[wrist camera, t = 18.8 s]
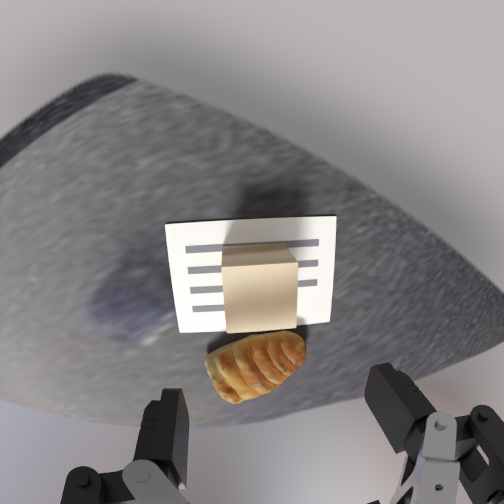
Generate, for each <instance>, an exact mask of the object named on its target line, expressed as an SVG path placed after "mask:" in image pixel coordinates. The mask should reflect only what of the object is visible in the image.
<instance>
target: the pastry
mask: <svg viewBox="0 0 504 504" xmlns="http://www.w3.org/2000/svg"><path fill="white" fill-rule="evenodd" d="M305 356H306V345H305V342H304V340H303V338H302V337H301V336H299V335H297V334H295V333H293V332H291V331H278V332H274V333H265V334H251V335H248V336H247V337H246V338H244V339H240V340H238V341H235V342H232V343H229V344H226V345H224V346H222V347H220V348H218V349H216V350H215V351H213V352H211V353H209V354H208V355H206V357H205V366H206V369H207V372H208V374H209V375H210V377H211V380H212V383H213V385H214V387H215V388H216V390H217V391H218V393H219V394H220V395H221V396H222V398H223V399H225V400H227V401H229V402H230V403H233V404H237V403H241V402H242V401H244V400H247V399H252V398H256V397H259V396H260V395H262V394H266V393H269V392H271V391H272V390H273V389H274V388H276V387H277V386H278V385H280V384H281V383H282V382H283V381H284V380H285V379H287V378H288V377H289V376H290V375H291V374H292V373H293V372H294V371H295V370H297V369H298V367H299V366H300V365H301V364H302V363H303V362H304V360H305Z"/></svg>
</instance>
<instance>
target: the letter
mask: <svg viewBox="0 0 504 504" xmlns="http://www.w3.org/2000/svg"><path fill="white" fill-rule="evenodd" d="M165 229H166V239H167V248H168V256H169V264H170V272H171V280H172V287H173V294H174V300H175V307H176V313H177V319H178V325H179V331H180V333H183V332H212V331H226V320H225V308H224V296H223V284H222V271H221V262H222V246H235V245H253V244H271V243H285V245H286V246H287V248H288V249H289V250H290V252H291V253H292V254H293V256H294V257H295V259H296V260H297V261H298V295H297V323H296V325H305V324H314V323H323V322H330V312H331V301H332V289H333V275H334V259H335V238H336V216H318V217H287V218H263V219H241V220H222V221H205V222H190V223H175V224H165Z"/></svg>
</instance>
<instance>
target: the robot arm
mask: <svg viewBox="0 0 504 504" xmlns="http://www.w3.org/2000/svg"><path fill="white" fill-rule="evenodd" d="M365 400H366V403H367V404H368V406H369V408H370V410H371V411H372V413H373V415H374V416H375V418H376V420H377V421H378V423H379V425H380V427H381V428H382V430H383V432H384V434H385V435H386V437H387V439H388V440H389V442H390V444H391V446H392V447H393V449H394V451H395V453H396V454H397V453H400V452H402V451H406V452H407V455H406V458H405V461H404V465H403V469H402V472H401V476H400V479H399V483H398V486H397V489H396V492H395V494H394V496H393V497H392V499H391V501H390V503H389V504H455V501H456V495H457V488H458V481H459V480H460V482H461V483H462V485H463V487H464V489H465V491H466V492H467V494H468V496H469V498H470V500H471V501H472V503H473V504H504V422H503V421H502V420H501V419H500V417H499V416H498V415H497V414H496V412H495V411H494V410H493V409H492V408H491V407H489V406H486V405H478V406H476V407H474V408H473V409H472V411H471V413H470V415H466V416H461V417H453V416H452V415H451V414H449V413H447V412H444V411H436V409H435V408H434V407H433V406H432V404H431V403H430V402H429V401H428V399H427V398H426V397H425V396H424V395H423V393H422V392H421V391H419V388H418V387H417V386H416V385H414V382H413V381H412V380H411V378H410V377H409V376H408V375H406V374H404V373H403V372H401V371H396V370H395V369H394V368H393V366H392V365H391V364H390V363H388V362H387V363H383V364H379V365H375V366H372V367H371V369H370V373H369V377H368V381H367V384H366V388H365ZM142 419H143V421H142V423H141V429H140V431H139V436H138V440H137V445H136V450H135V455H134V459H133V461H132V462H131V463H129V464H128V465H127V466H126V467H125V468H124V469H123V470H120V471H117V472H109V473H100V474H98V473H97V472H96V471H95V470H94V469H92V468H90V467H85V466H81V467H77V468H74V469H73V470H71V471H70V472H69V474H68V476H67V478H66V482H65V486H64V490H63V495H62V499H61V503H60V504H190V503H189V502H188V501H187V500H186V499H185V497H183V495H182V494H181V493H180V492H179V491H178V489H186V477H187V457H188V436H189V415H188V410H187V406H186V403H185V399H184V395H183V391H182V389H181V388H180V389H167V388H164V389H163V390H162V395H161V400H160V401H156V400H152V401H151V402H150V403H149V404H148V406H147V407H146V408H145V410H144V414H143V418H142ZM478 445H480V447H481V448H482V450H483V451H484V453H485V454H486V456H487V457H488V459H489V466H488V465H487V463H486V461H485V460H484V458H483V457H482V456H481V454H480V453H479V451H478V450H477V447H478ZM368 504H380V502H379V500H377V501H374V502H371V503H368Z"/></svg>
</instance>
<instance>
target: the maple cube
mask: <svg viewBox="0 0 504 504" xmlns="http://www.w3.org/2000/svg"><path fill="white" fill-rule="evenodd" d="M221 271H222V284H223V296H224V308H225V320H226V331H227V333H241V332H255V331H268V330H279V329H290V328H296V323H297V295H298V261H297V260H296V259H295V257H294V256H293V254H292V253H291V252H290V250H289V249H288V248H287V246H286V245H285V243H271V244H253V245H235V246H222V262H221Z"/></svg>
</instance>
